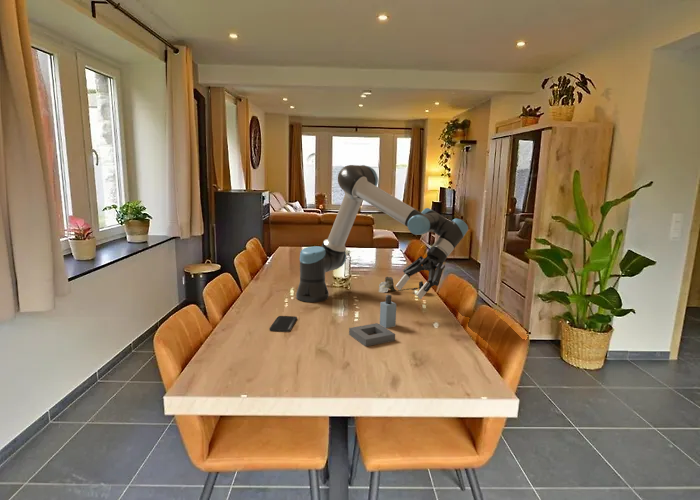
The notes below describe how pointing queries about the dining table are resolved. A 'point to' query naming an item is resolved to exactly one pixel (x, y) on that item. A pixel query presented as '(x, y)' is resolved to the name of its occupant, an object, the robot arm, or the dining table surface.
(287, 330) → the phone
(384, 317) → the connector plug
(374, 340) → the frame
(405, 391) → the dining table surface
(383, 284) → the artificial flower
